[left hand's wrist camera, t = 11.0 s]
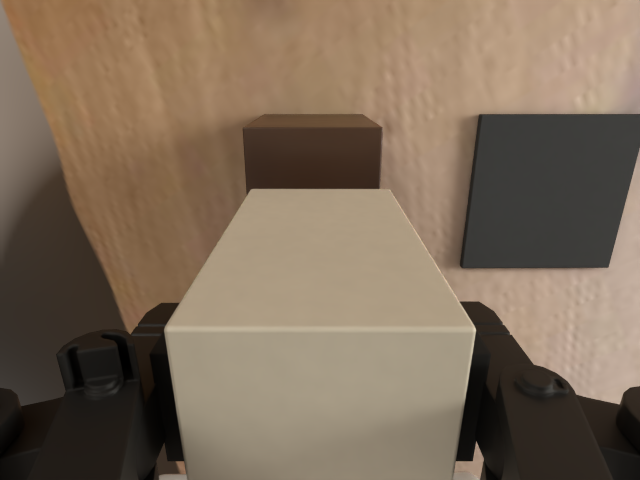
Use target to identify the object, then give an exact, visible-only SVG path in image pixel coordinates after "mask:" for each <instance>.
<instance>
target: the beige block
mask: <svg viewBox="0 0 640 480" xmlns="http://www.w3.org/2000/svg"><path fill="white" fill-rule="evenodd" d="M164 333H165V339H166V346H167V352H168V359H169V365H170V372H171V378H172V385H173V391H174V398H175V404H176V411H177V417H178V424H179V430H180V437H181V443H182V450H183V456H184V463H185V469H186V476H187V480H453V475H454V469H455V463H456V456H457V450H458V443H459V437H460V430H461V424H462V418H463V411H464V405H465V398H466V392H467V386H468V379H469V373H470V366H471V360H472V353H473V347H474V341H475V334H476V329H475V326H474V324H473V323H472V321H471V320H470V318H469V316H468V315H467V313H466V312H465V310H464V308H463V307H462V305H461V304H460V302H459V300H458V299H457V297H456V295H455V294H454V292H453V291H452V289H451V287H450V286H449V284H448V283H447V281H446V279H445V278H444V276H443V274H442V273H441V271H440V270H439V268H438V266H437V265H436V263H435V262H434V260H433V258H432V257H431V255H430V253H429V252H428V250H427V249H426V247H425V245H424V244H423V242H422V241H421V239H420V237H419V236H418V234H417V233H416V231H415V229H414V228H413V226H412V224H411V223H410V221H409V220H408V218H407V216H406V215H405V213H404V212H403V210H402V208H401V207H400V205H399V203H398V202H397V200H396V199H395V197H394V195H393V194H392V192H391V191H390V190H389V189H251V190H250V192H249V193H248V195H247V196H246V198H245V200H244V201H243V203H242V204H241V206H240V208H239V209H238V211H237V212H236V214H235V216H234V217H233V219H232V220H231V222H230V224H229V225H228V227H227V228H226V230H225V232H224V233H223V235H222V236H221V238H220V240H219V241H218V243H217V244H216V246H215V248H214V249H213V251H212V252H211V254H210V256H209V257H208V259H207V260H206V262H205V264H204V265H203V267H202V268H201V270H200V272H199V273H198V275H197V276H196V278H195V280H194V281H193V283H192V284H191V286H190V288H189V289H188V291H187V292H186V294H185V296H184V297H183V299H182V300H181V302H180V304H179V305H178V307H177V308H176V310H175V312H174V313H173V315H172V316H171V318H170V320H169V321H168V323H167V324H166V326H165V329H164Z"/></svg>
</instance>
